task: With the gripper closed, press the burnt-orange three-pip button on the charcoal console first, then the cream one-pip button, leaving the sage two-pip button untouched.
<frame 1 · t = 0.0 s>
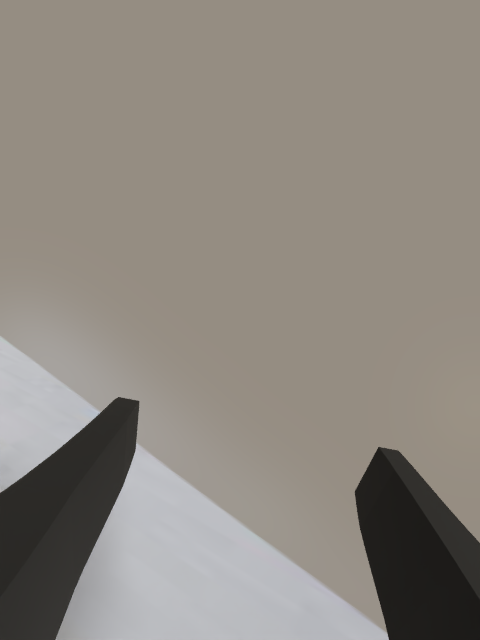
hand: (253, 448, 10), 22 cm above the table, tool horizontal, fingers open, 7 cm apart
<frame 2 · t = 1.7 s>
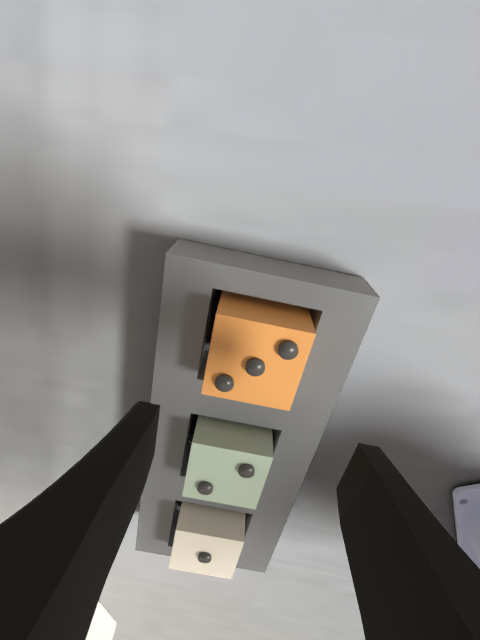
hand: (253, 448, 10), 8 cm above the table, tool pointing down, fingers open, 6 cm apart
button three orange: (255, 348, 15), point 3 cm above the table, slide at 0.0 cm
console: (231, 421, 21), on the table
button one cream: (208, 532, 22), point 3 cm above the table, slide at 0.0 cm
button two sage: (227, 455, 18), point 3 cm above the table, slide at 0.0 cm
milk: (77, 606, 32), on the table
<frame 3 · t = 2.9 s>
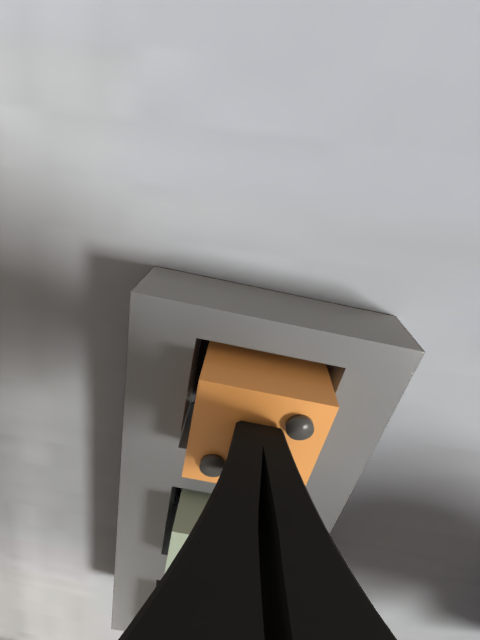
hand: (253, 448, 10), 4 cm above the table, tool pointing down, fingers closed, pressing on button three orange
button three orange: (255, 413, 12), point 3 cm above the table, slide at 0.0 cm, touching gripper
console: (225, 482, 17), on the table
button two sage: (220, 534, 15), point 3 cm above the table, slide at 0.0 cm
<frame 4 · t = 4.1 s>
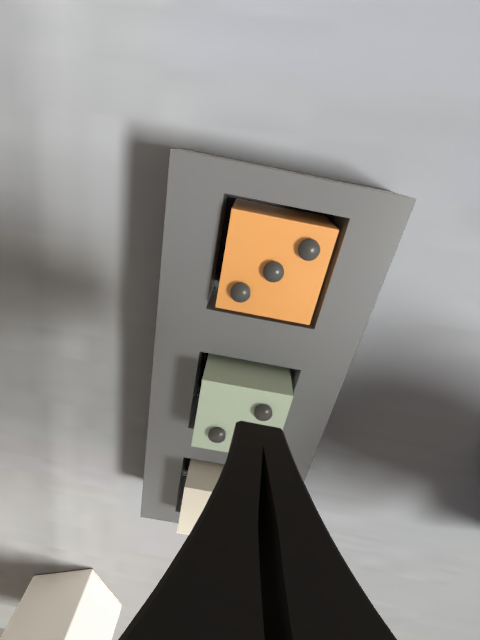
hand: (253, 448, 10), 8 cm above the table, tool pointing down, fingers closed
button three orange: (272, 260, 14), point 2 cm above the table, slide at 1.0 cm
console: (243, 371, 19), on the table
button one cream: (219, 494, 20), point 3 cm above the table, slide at 0.0 cm
button two sage: (241, 402, 17), point 3 cm above the table, slide at 0.0 cm
milk: (80, 587, 31), on the table
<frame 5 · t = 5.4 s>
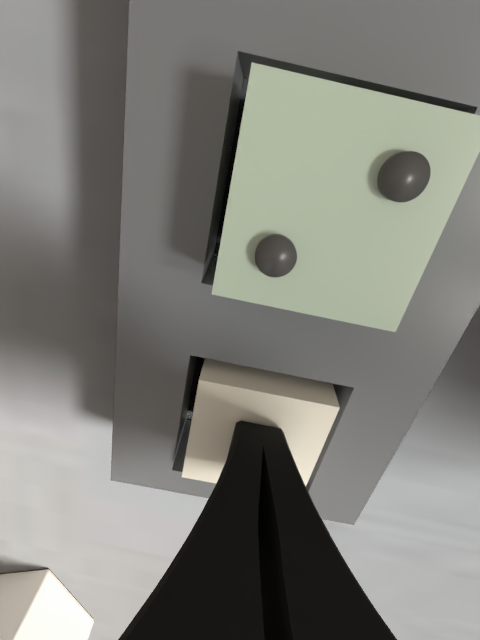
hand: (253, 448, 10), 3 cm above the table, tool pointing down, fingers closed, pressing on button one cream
console: (308, 194, 10), on the table
button one cream: (255, 413, 12), point 2 cm above the table, slide at 1.0 cm, touching gripper
button two sage: (322, 207, 8), point 3 cm above the table, slide at 0.0 cm
milk: (34, 595, 21), on the table
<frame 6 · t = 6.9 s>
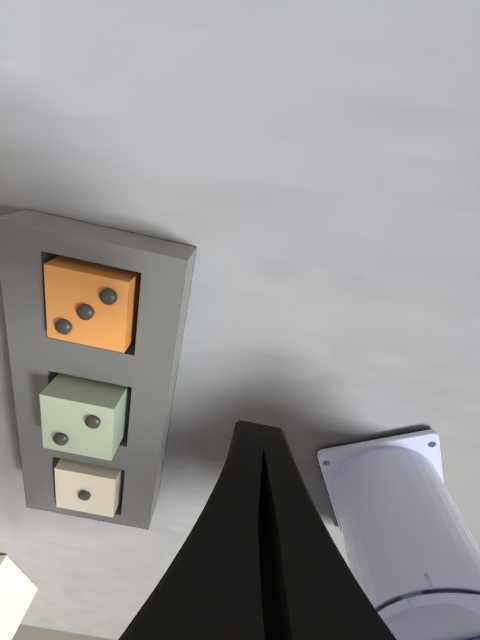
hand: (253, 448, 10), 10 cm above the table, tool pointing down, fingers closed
button three orange: (98, 300, 18), point 2 cm above the table, slide at 1.0 cm
console: (106, 385, 23), on the table
button one cream: (94, 476, 24), point 2 cm above the table, slide at 1.0 cm
button two sage: (88, 412, 20), point 3 cm above the table, slide at 0.0 cm
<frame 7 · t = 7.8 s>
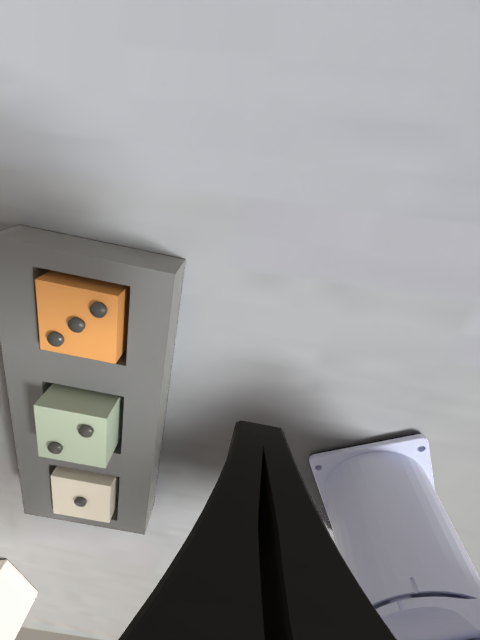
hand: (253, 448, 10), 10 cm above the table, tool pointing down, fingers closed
button three orange: (90, 312, 18), point 2 cm above the table, slide at 1.0 cm
console: (100, 393, 23), on the table
button one cream: (90, 482, 25), point 2 cm above the table, slide at 1.0 cm
button two sage: (82, 420, 21), point 3 cm above the table, slide at 0.0 cm
milk: (0, 576, 35), on the table
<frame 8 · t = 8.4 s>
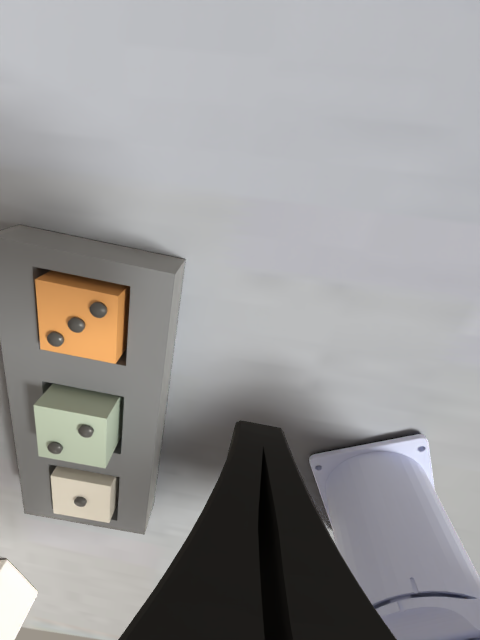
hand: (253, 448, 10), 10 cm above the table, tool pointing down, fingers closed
button three orange: (90, 312, 18), point 2 cm above the table, slide at 1.0 cm
console: (100, 393, 23), on the table
button one cream: (90, 482, 25), point 2 cm above the table, slide at 1.0 cm
button two sage: (82, 420, 21), point 3 cm above the table, slide at 0.0 cm
milk: (0, 576, 35), on the table
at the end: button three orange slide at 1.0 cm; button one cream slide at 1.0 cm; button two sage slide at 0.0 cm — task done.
